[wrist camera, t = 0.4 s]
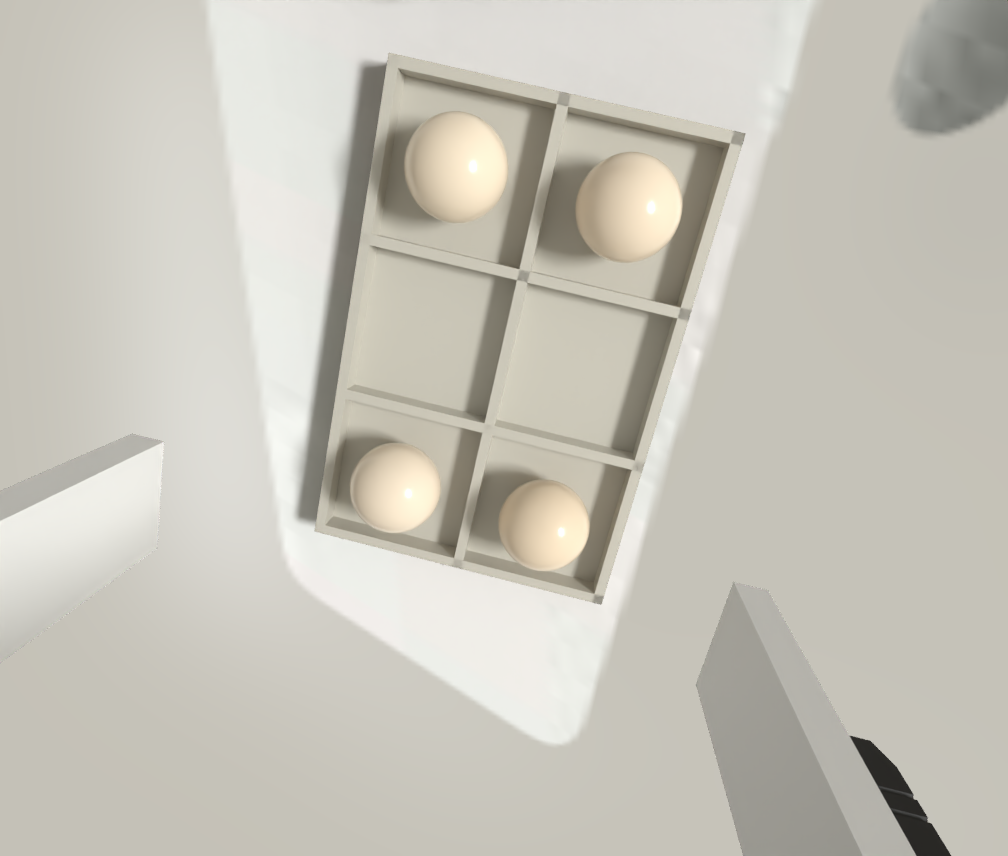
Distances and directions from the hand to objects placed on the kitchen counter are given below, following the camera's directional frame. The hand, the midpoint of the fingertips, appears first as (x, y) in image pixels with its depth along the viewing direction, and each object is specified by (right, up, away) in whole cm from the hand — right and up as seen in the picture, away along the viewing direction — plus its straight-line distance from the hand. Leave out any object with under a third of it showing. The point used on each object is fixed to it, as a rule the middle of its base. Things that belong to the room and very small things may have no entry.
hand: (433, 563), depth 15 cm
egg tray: (+2, +8, +24) cm, 26 cm away
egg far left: (-5, 0, +27) cm, 27 cm away
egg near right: (+8, +15, +21) cm, 27 cm away
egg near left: (-1, +17, +22) cm, 28 cm away
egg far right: (+4, -2, +26) cm, 27 cm away
